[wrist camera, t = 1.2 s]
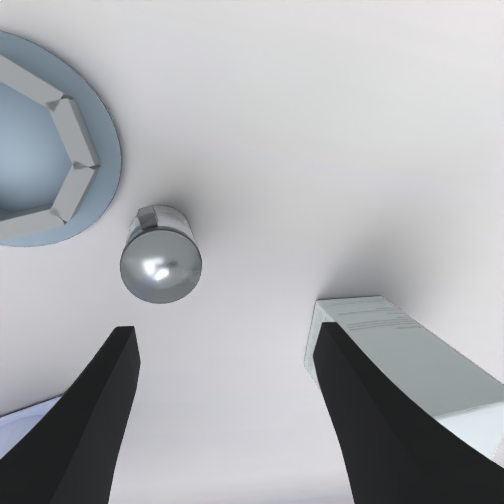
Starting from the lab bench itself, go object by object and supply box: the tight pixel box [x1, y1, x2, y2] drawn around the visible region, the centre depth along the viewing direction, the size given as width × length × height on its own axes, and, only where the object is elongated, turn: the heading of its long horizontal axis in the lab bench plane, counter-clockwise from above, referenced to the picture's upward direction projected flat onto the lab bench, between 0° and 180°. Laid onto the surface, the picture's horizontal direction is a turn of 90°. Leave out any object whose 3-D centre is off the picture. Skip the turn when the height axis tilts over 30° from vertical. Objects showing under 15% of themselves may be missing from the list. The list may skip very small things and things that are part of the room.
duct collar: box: [0, 31, 121, 247], centre depth 16 cm, size 11×11×3 cm
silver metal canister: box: [120, 205, 202, 304], centre depth 18 cm, size 4×5×6 cm
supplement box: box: [304, 296, 504, 460], centre depth 24 cm, size 7×7×13 cm
